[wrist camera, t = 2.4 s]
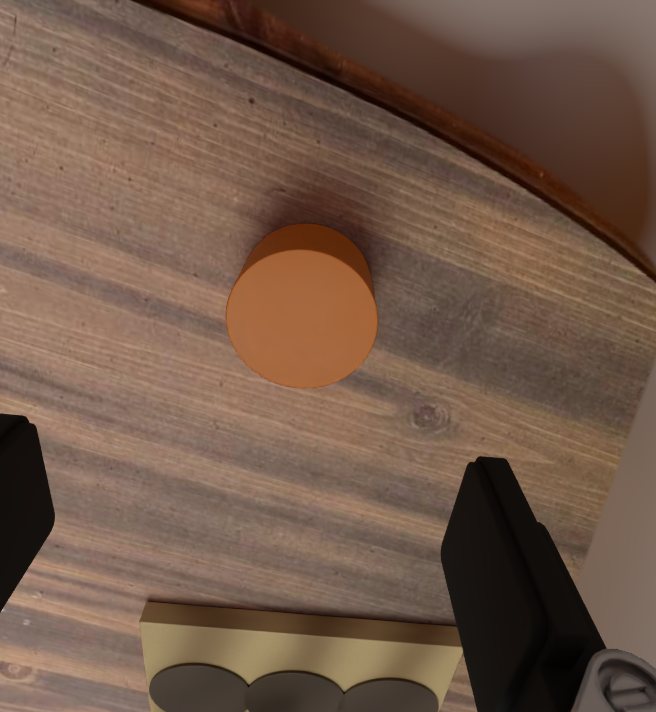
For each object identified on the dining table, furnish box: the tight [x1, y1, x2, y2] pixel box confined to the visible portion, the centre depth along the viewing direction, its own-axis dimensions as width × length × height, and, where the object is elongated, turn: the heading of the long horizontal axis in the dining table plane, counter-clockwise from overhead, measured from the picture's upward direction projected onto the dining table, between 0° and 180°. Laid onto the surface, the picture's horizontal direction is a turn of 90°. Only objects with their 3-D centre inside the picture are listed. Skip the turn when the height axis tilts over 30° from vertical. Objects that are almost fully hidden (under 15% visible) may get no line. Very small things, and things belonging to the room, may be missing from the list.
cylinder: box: [226, 224, 378, 388], centre depth 21 cm, size 6×6×4 cm
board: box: [139, 602, 463, 712], centre depth 37 cm, size 22×16×2 cm
